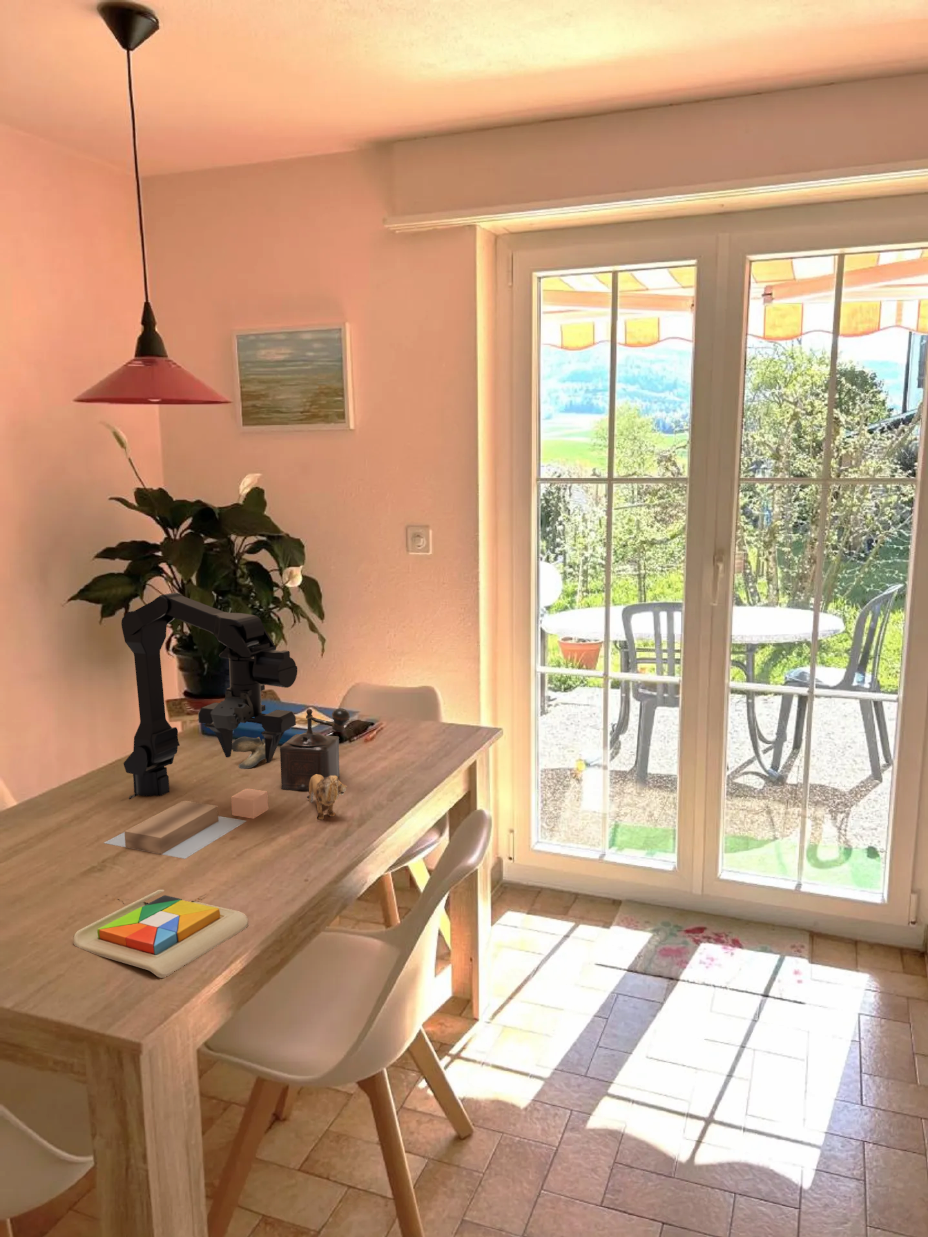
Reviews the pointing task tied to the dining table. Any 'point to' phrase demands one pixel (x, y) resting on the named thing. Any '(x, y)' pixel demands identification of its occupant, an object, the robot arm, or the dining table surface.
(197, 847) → the build board
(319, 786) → the lion figurine
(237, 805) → the cap block
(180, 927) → the wooden puzzle
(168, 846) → the plinth
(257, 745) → the eagle figurine
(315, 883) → the dining table surface
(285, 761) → the manual coffee grinder
